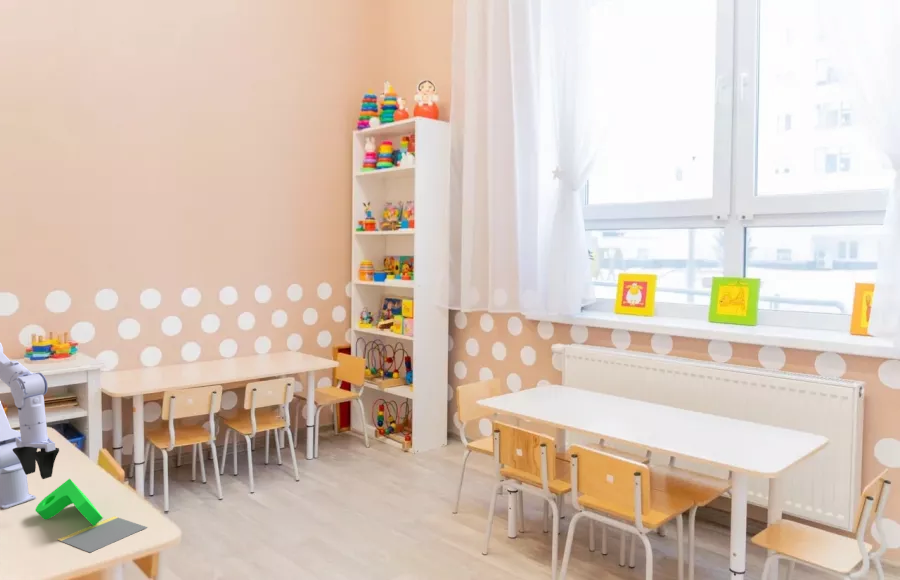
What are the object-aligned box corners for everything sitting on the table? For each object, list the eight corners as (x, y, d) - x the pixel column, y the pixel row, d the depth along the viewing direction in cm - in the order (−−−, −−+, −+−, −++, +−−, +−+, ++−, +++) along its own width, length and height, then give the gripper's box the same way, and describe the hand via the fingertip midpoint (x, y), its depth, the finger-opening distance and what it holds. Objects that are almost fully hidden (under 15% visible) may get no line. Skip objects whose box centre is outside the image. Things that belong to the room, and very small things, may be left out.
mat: (57, 539, 158) (57, 539, 158) (114, 516, 170) (114, 516, 170) (89, 552, 151) (89, 552, 151) (147, 527, 163) (147, 527, 163)
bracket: (52, 526, 174) (33, 506, 171) (87, 498, 179) (69, 478, 176) (67, 553, 159) (46, 531, 156) (105, 521, 163) (86, 500, 161)
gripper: (0, 423, 172) (6, 476, 174) (32, 430, 165) (38, 485, 166) (29, 416, 178) (35, 467, 180) (61, 422, 171) (66, 475, 172)
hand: (38, 475), depth 173 cm, fingers open, 7 cm apart
